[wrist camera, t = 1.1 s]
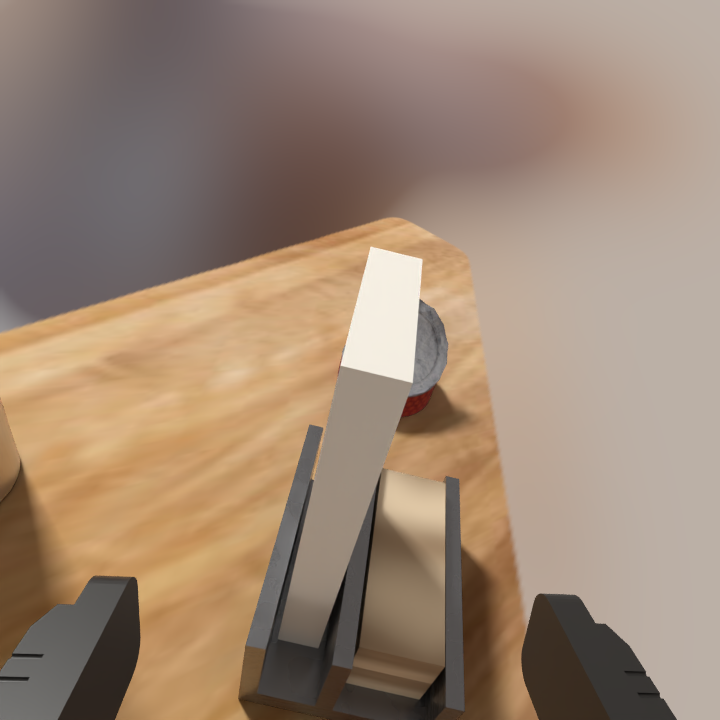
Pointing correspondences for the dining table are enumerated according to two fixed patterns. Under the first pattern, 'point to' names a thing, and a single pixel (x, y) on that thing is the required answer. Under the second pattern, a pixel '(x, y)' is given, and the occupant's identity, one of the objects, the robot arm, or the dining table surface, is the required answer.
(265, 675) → the rack
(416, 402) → the canned food
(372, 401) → the white rectangular board
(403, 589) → the offcut top
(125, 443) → the dining table surface
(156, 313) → the dining table surface
